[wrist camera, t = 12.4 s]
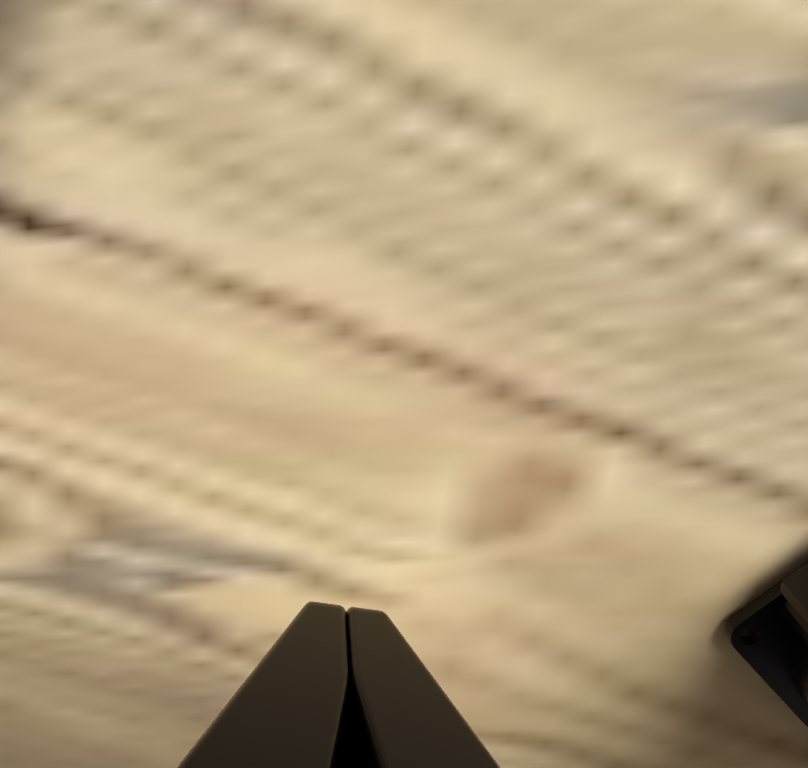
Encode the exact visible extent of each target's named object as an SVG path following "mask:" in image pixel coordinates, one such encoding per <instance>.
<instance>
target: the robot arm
mask: <svg viewBox="0 0 808 768" xmlns="http://www.w3.org/2000/svg"><path fill="white" fill-rule="evenodd" d="M749 628H751V629H753V631H752V632H751V633H750V634H749V635H746V636H741V633H742V632H743V631H744V630H746V629H749ZM725 634H726V636H727V637H728V639H729V641H730V642H731V644H732V645H733V647H734V648H735V649H736V650H737V651H738V653H739V654H740V655H741V656H742V657H743V658H744V659H745V660H746V661H747V662H748V663H749V664H750V665H751V667H752V668H753V669H754V670H755V671H756V672H757V673H758V674H759V675H760V676H761V677H762V678H763V679H764V681H765V682H766V683H767V684H768V685H769V686H770V687H771V688H772V689H773V690H774V691H775V692H776V693H777V695H778V696H779V697H780V698H781V699H782V700H783V701H784V702H785V703H786V704H787V705H788V706H789V708H790V709H791V710H792V711H793V712H794V713H795V714H796V715H797V716H798V717H799V718H800V719H801V720H802V722H803V723H804V724H805V725H806V726H807V727H808V562H807V563H806V564H804V565H803V566H801V567H800V568H799V569H797V570H796V571H794V572H793V573H792V574H790V575H789V576H787V577H786V578H785V579H783V580H782V581H780V582H779V583H778V584H776V585H775V586H773V587H772V588H771V589H769V590H768V591H766V592H765V593H764V594H762V595H761V596H759V597H758V598H757V599H755V600H754V601H752V602H751V603H750V604H748V605H747V606H745V607H744V608H743V609H741V610H740V611H738V612H737V613H735V614H734V615H733V616H732V617H731V618H730V619H729V620H728V621H727V623H726V625H725ZM177 768H500V767H499V765H498V764H497V763H496V761H495V760H494V759H493V757H492V756H491V755H490V753H489V752H488V751H487V749H486V748H485V747H484V745H483V744H482V742H481V741H480V740H479V738H478V737H477V736H476V734H475V733H474V732H473V730H472V729H471V728H470V726H469V725H468V724H467V722H466V721H465V720H464V718H463V717H462V715H461V714H460V713H459V711H458V710H457V709H456V707H455V706H454V705H453V703H452V702H451V701H450V699H449V698H448V697H447V695H446V694H445V693H444V691H443V690H442V688H441V687H440V686H439V684H438V683H437V682H436V680H435V679H434V678H433V676H432V675H431V674H430V672H429V671H428V670H427V668H426V667H425V666H424V664H423V663H422V661H421V660H420V659H419V657H418V656H417V655H416V653H415V652H414V651H413V649H412V648H411V647H410V645H409V644H408V643H407V641H406V640H405V639H404V637H403V636H402V635H401V633H400V632H399V630H398V629H397V628H396V626H395V625H394V624H393V622H392V621H391V620H390V618H389V617H388V616H387V615H386V614H385V613H384V612H383V611H378V610H371V609H363V608H355V607H351V608H349V609H348V610H347V611H345V609H344V608H343V607H342V606H340V605H333V604H326V603H319V602H309V603H307V604H306V605H305V606H304V607H303V608H302V610H301V611H300V612H299V613H298V615H297V616H296V617H295V619H294V620H293V621H292V622H291V624H290V625H289V626H288V627H287V629H286V630H285V631H284V633H283V634H282V635H281V636H280V638H279V639H278V640H277V641H276V643H275V644H274V645H273V646H272V648H271V649H270V650H269V652H268V653H267V654H266V655H265V657H264V658H263V659H262V660H261V662H260V663H259V664H258V666H257V667H256V668H255V669H254V671H253V672H252V673H251V674H250V676H249V677H248V678H247V679H246V681H245V682H244V683H243V685H242V686H241V687H240V688H239V690H238V691H237V692H236V693H235V695H234V696H233V697H232V699H231V700H230V701H229V702H228V704H227V705H226V706H225V707H224V709H223V710H222V711H221V712H220V714H219V715H218V716H217V718H216V719H215V720H214V721H213V723H212V724H211V725H210V726H209V728H208V729H207V730H206V731H205V733H204V734H203V735H202V737H201V738H200V739H199V740H198V742H197V743H196V744H195V745H194V747H193V748H192V749H191V751H190V752H189V753H188V754H187V756H186V757H185V758H184V759H183V761H182V762H181V763H180V764H179V766H178V767H177Z"/></svg>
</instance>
